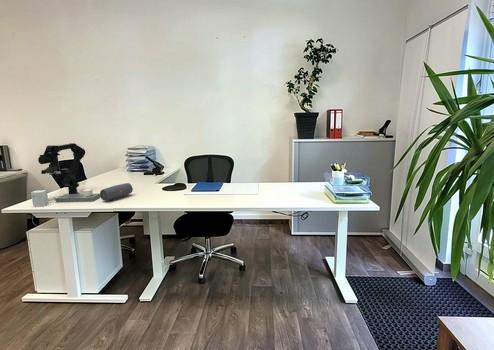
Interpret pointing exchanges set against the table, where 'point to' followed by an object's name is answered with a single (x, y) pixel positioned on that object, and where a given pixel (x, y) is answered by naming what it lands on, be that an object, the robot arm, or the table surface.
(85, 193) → the fader tab
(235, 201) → the table surface
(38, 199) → the small box
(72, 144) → the robot arm
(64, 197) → the console
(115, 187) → the bluetooth speaker
